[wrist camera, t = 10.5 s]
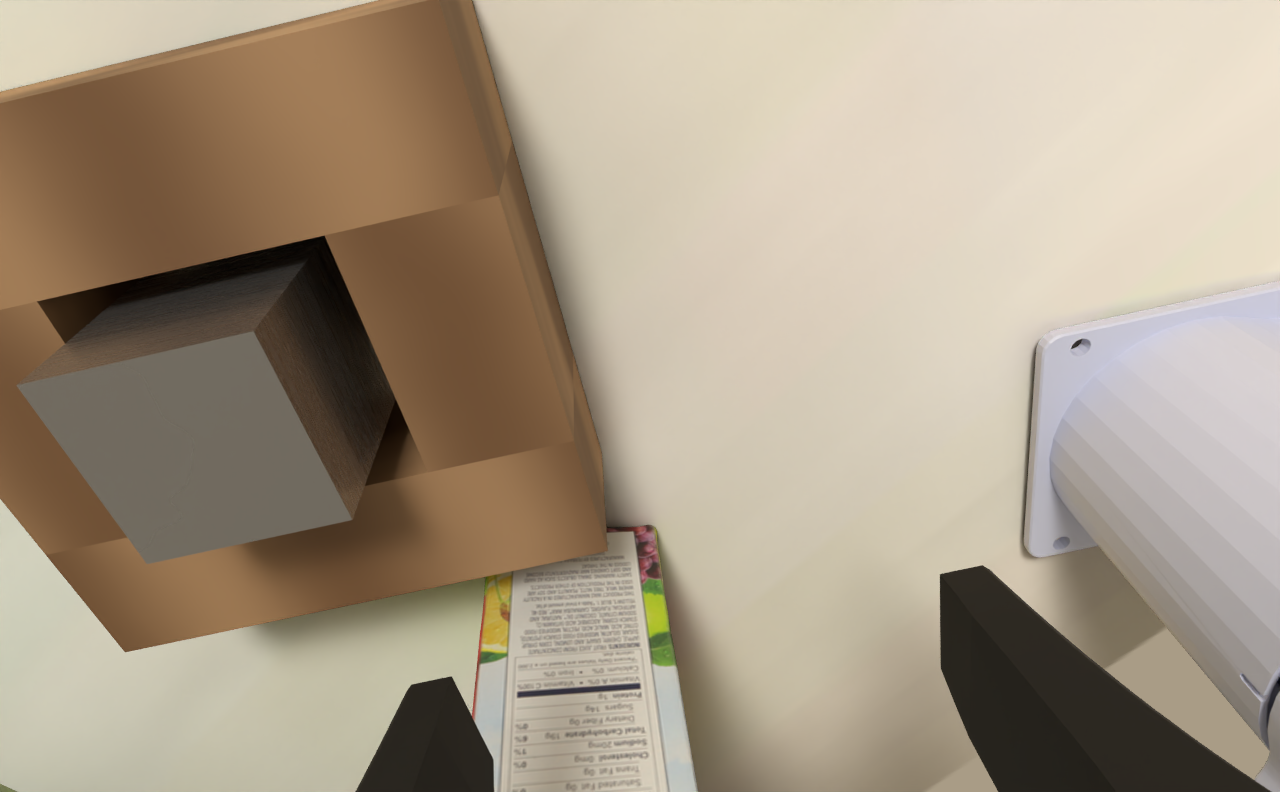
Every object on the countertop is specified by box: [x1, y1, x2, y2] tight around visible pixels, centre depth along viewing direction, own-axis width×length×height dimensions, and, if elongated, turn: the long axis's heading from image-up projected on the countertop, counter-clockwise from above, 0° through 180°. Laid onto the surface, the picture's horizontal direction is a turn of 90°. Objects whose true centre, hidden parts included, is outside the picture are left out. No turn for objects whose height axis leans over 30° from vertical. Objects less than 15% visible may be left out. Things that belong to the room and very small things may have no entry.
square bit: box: [16, 236, 396, 564], centre depth 17 cm, size 4×4×6 cm
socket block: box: [0, 0, 608, 652], centre depth 18 cm, size 12×12×4 cm
